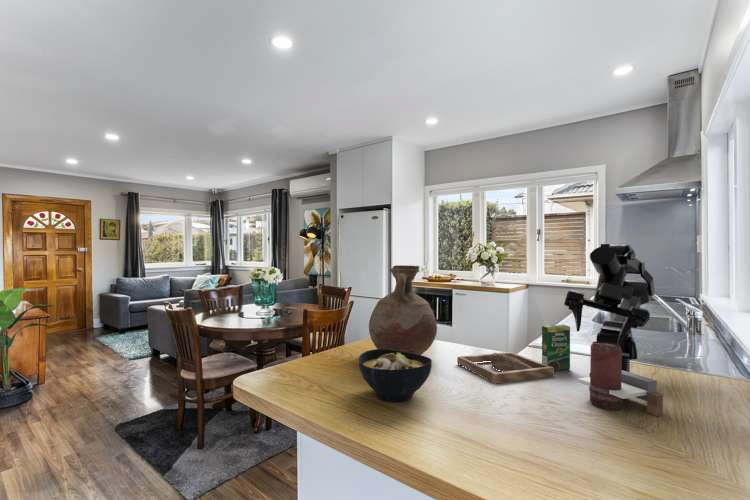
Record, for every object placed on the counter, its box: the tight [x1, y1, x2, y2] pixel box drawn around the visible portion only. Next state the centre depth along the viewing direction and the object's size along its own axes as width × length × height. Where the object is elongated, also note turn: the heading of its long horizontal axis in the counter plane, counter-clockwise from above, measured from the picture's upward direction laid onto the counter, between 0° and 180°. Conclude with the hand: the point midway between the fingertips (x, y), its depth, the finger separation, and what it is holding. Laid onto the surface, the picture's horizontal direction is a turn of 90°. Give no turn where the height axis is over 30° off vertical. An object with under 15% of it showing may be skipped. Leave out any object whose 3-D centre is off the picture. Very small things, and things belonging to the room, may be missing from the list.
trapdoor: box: [577, 370, 658, 402], centre depth 87 cm, size 12×12×4 cm
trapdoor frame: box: [588, 386, 664, 417], centre depth 87 cm, size 2×16×4 cm, turn 21°
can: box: [589, 340, 622, 411], centre depth 85 cm, size 6×6×14 cm
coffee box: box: [541, 324, 571, 371], centre depth 112 cm, size 8×3×13 cm, turn 101°
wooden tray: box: [456, 351, 555, 384], centre depth 109 cm, size 20×17×2 cm
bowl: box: [358, 348, 433, 403], centre depth 88 cm, size 17×17×10 cm
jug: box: [368, 264, 438, 356], centre depth 118 cm, size 22×22×30 cm
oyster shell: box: [490, 352, 533, 372], centre depth 111 cm, size 10×12×5 cm
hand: (597, 337), depth 95 cm, fingers open, 9 cm apart
